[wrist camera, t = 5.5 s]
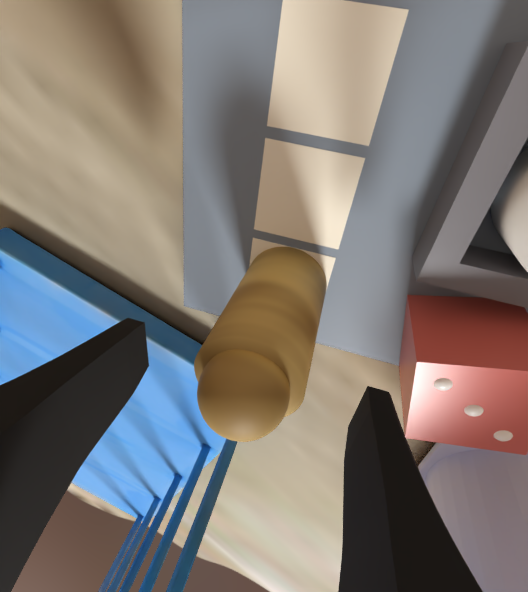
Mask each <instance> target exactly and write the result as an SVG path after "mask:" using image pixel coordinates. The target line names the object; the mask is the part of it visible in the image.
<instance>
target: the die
mask: <svg viewBox="0 0 528 592" xmlns="http://www.w3.org/2000/svg"><path fill="white" fill-rule="evenodd" d="M399 372H400V384H401V396H402V408H403V420H404V433H405V437H406V438H409V439H416V440H423V441H430V442H437V443H444V444H451V445H458V446H465V447H472V448H479V449H486V450H493V451H500V452H507V453H514V454H521V455H526V454H527V452H528V313H527V311H526V309H525V308H524V307H521V306H517V305H513V304H508V303H504V302H500V301H496V300H492V299H488V298H481V297H453V296H425V295H407V302H406V310H405V319H404V327H403V335H402V344H401V352H400V360H399Z"/></svg>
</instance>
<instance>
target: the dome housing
mask: <svg viewBox="0 0 528 592" xmlns="http://www.w3.org/2000/svg"><path fill="white" fill-rule="evenodd" d="M527 138H528V41H523V42H514V43H507V44H506V46H505V48H504V51H503V53H502V55H501V57H500V60H499V62H498V64H497V66H496V69H495V71H494V73H493V75H492V78H491V80H490V82H489V84H488V87H487V89H486V91H485V93H484V96H483V98H482V100H481V102H480V105H479V107H478V109H477V112H476V114H475V116H474V118H473V121H472V123H471V125H470V127H469V130H468V132H467V134H466V136H465V139H464V141H463V143H462V145H461V148H460V150H459V152H458V154H457V157H456V159H455V161H454V163H453V166H452V168H451V170H450V172H449V175H448V177H447V179H446V181H445V184H444V186H443V188H442V190H441V193H440V195H439V197H438V200H437V202H436V204H435V206H434V209H433V211H432V213H431V215H430V218H429V220H428V222H427V224H426V227H425V229H424V231H423V233H422V236H421V238H420V240H419V242H418V245H417V247H416V249H415V251H414V254H413V256H412V261H413V266H414V271H415V276H416V281H419V282H423V283H427V284H431V285H435V286H439V287H443V288H447V289H451V290H455V291H459V292H463V293H468V294H472V295H476V296H480V297H484V298H488V299H492V300H496V301H500V302H504V303H508V304H513V305H517V306H521V307H525V308H528V272H527V271H526V270H525V269H524V267H523V266H522V265H521V264H520V262H519V261H518V259H517V258H516V257H515V255H512V254H507V253H503V252H498V251H494V250H490V249H485V248H481V247H476V246H472V245H470V243H471V241H472V239H473V237H474V235H475V234H476V232H477V230H478V228H479V226H480V224H481V223H482V221H483V219H484V217H485V215H486V213H487V211H488V210H489V208H490V206H491V204H492V202H493V200H494V199H495V197H496V195H497V193H498V191H499V189H500V188H501V186H502V184H503V182H504V180H505V178H506V176H507V175H508V173H509V171H510V169H511V167H512V165H513V164H514V162H515V160H516V158H517V156H518V154H519V153H520V151H521V149H522V147H523V145H524V143H525V141H526V140H527Z"/></svg>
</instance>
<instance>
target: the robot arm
mask: <svg viewBox="0 0 528 592" xmlns="http://www.w3.org/2000/svg"><path fill="white" fill-rule="evenodd" d="M148 367H149V360H148V350H147V340H146V329H145V322H142V321H138V320H135V319H131V318H126V319H124V320H122V321H121V322H119V323H117V324H115V325H114V326H112V327H110V328H108V329H107V330H105V331H103V332H101V333H100V334H98V335H96V336H94V337H93V338H91V339H89V340H88V341H86V342H84V343H82V344H80V345H79V346H77V347H75V348H73V349H71V350H70V351H68V352H66V353H64V354H62V355H61V356H59V357H57V358H55V359H53V360H51V361H49V362H47V363H45V364H43V365H41V366H39V367H37V368H35V369H33V370H31V371H29V372H27V373H25V374H23V375H21V376H19V377H17V378H15V379H13V380H10V381H8V382H6V383H4V384H2V385H0V592H11V591H12V589H13V587H14V585H15V583H16V581H17V579H18V577H19V575H20V573H21V571H22V569H23V567H24V565H25V563H26V562H27V560H28V558H29V556H30V554H31V552H32V550H33V549H34V547H35V545H36V543H37V541H38V539H39V537H40V536H41V534H42V532H43V530H44V528H45V527H46V525H47V523H48V521H49V520H50V518H51V516H52V514H53V513H54V511H55V509H56V507H57V506H58V504H59V502H60V500H61V499H62V497H63V495H64V494H65V492H66V490H67V489H68V487H69V485H70V484H71V482H72V480H73V479H74V477H75V475H76V474H77V472H78V470H79V469H80V467H81V466H82V464H83V463H84V461H85V460H86V458H87V457H88V455H89V454H90V452H91V451H92V450H93V448H94V447H95V445H96V444H97V443H98V441H99V440H100V439H101V437H102V436H103V435H104V433H105V432H106V431H107V429H108V428H109V426H110V425H111V424H112V422H113V421H114V420H115V418H116V417H117V416H118V414H119V413H120V412H121V410H122V409H123V407H124V406H125V405H126V403H127V402H128V400H129V399H130V398H131V396H132V395H133V393H134V392H135V390H136V388H137V387H138V385H139V383H140V381H141V380H142V378H143V376H144V374H145V372H146V370H147V368H148ZM338 592H528V452H527V454H526V455H521V454H514V453H507V452H500V451H493V450H486V449H479V448H472V447H465V446H458V445H451V444H444V443H437V442H436V444H435V445H434V446H433V447H432V449H431V450H430V451H429V453H428V454H427V455H426V457H425V458H424V459H423V460H422V462H421V463H420V464H419V466H417V464H416V462H415V459H414V457H413V455H412V452H411V450H410V447H409V445H408V442H407V440H406V437H405V435H404V432H403V429H402V427H401V424H400V421H399V418H398V416H397V413H396V410H395V407H394V404H393V401H392V398H391V395H390V394H389V392H387V391H383V390H380V389H376V388H373V387H369V386H368V387H367V389H366V391H365V393H364V395H363V397H362V399H361V401H360V403H359V405H358V407H357V410H356V412H355V414H354V416H353V418H352V420H351V422H350V424H349V427H348V434H347V441H346V449H345V458H344V500H343V547H342V562H341V572H340V582H339V591H338Z"/></svg>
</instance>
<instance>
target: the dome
mask: <svg viewBox="0 0 528 592" xmlns="http://www.w3.org/2000/svg"><path fill="white" fill-rule="evenodd" d="M491 216H492V221H493V224H494V226H495V228H496V230H497V231H498V233H499V234H500V236H501V237H502V239H503V240H504V241H505V243H506V244H507V245H508V247H509V248H510V250H511V251H512V252H513V254H514V255H515V257H516V258H517V259H518V261H519V262H520V264H521V265H522V266H523V267H524V269H525V270H526V271H527V272H528V148H527V149H526V150H524V151H523V152H522V153H521V154H520V155H519V156H517V158H516V160H515V162H514V164H513V165H512V167H511V169H510V171H509V173H508V175H507V176H506V178H505V180H504V182H503V184H502V186H501V188H500V189H499V191H498V193H497V195H496V197H495V199H494V200H493V202H492V204H491Z"/></svg>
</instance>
